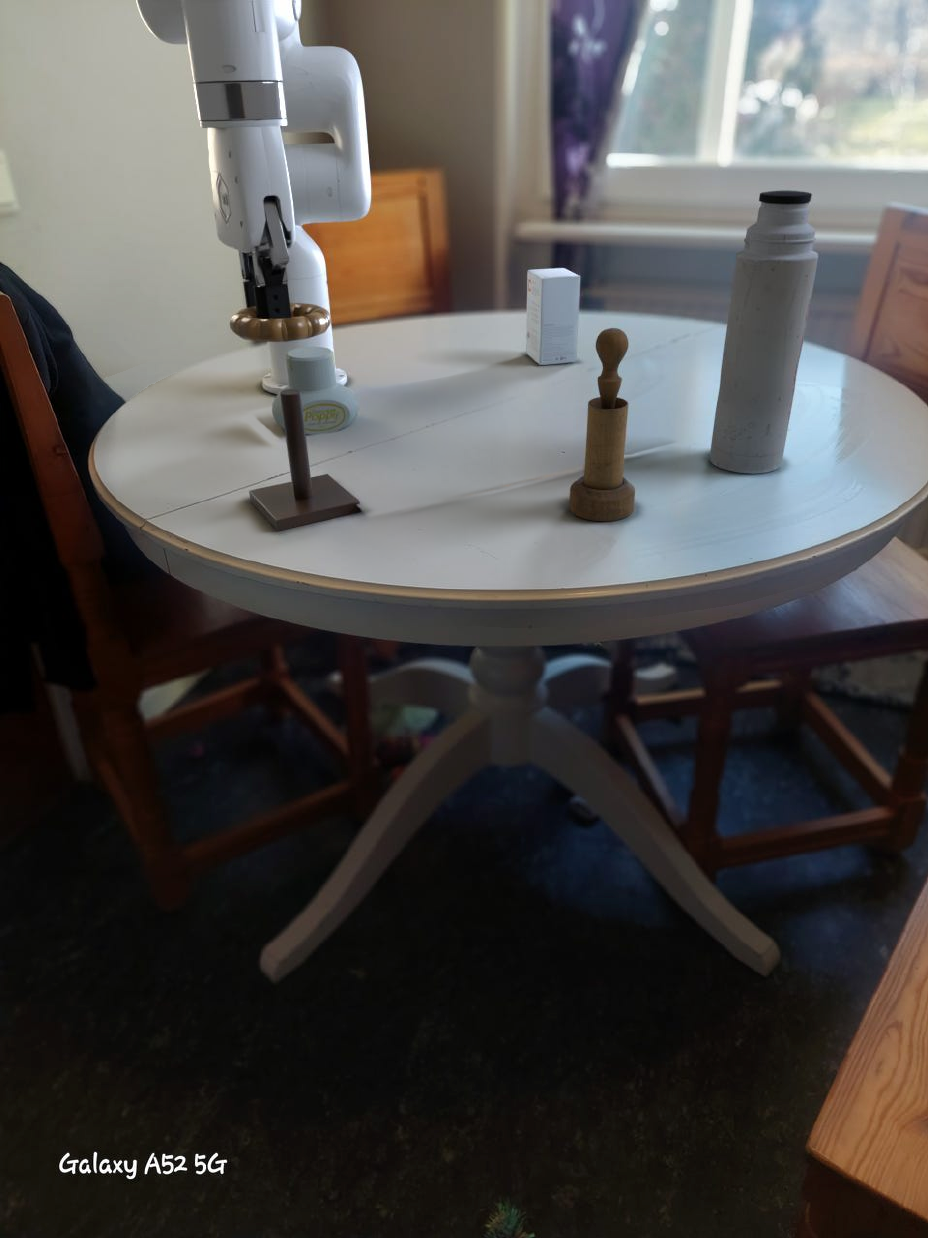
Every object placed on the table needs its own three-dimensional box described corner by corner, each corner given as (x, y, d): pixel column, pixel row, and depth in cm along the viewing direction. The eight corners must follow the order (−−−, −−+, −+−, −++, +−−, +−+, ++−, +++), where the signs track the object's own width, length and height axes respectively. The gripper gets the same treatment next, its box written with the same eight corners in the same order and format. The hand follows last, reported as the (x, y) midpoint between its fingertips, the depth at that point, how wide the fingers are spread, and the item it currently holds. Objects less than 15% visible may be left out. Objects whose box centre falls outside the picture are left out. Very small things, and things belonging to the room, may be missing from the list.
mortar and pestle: (592, 527, 86) (603, 340, 77) (556, 504, 91) (563, 326, 82) (646, 512, 88) (663, 331, 79) (609, 491, 93) (621, 318, 84)
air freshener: (352, 416, 117) (346, 340, 112) (366, 435, 111) (360, 355, 105) (271, 426, 114) (260, 348, 109) (280, 446, 108) (269, 365, 103)
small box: (577, 362, 138) (581, 275, 131) (539, 365, 137) (541, 278, 130) (561, 350, 145) (564, 266, 138) (524, 353, 143) (526, 269, 137)
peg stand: (250, 500, 93) (232, 387, 87) (328, 483, 97) (316, 374, 91) (277, 531, 87) (260, 411, 80) (360, 511, 90) (350, 395, 84)
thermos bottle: (777, 450, 103) (823, 187, 88) (784, 475, 96) (835, 195, 82) (708, 447, 104) (742, 187, 90) (710, 471, 98) (747, 195, 83)
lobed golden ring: (221, 329, 84) (218, 308, 83) (311, 317, 88) (309, 297, 87) (249, 349, 77) (246, 325, 76) (345, 335, 81) (344, 313, 80)
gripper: (176, 109, 80) (210, 316, 90) (225, 108, 68) (259, 347, 78) (255, 107, 83) (280, 307, 93) (315, 105, 71) (337, 336, 81)
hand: (270, 323), depth 85 cm, fingers closed on lobed golden ring, 2 cm apart
